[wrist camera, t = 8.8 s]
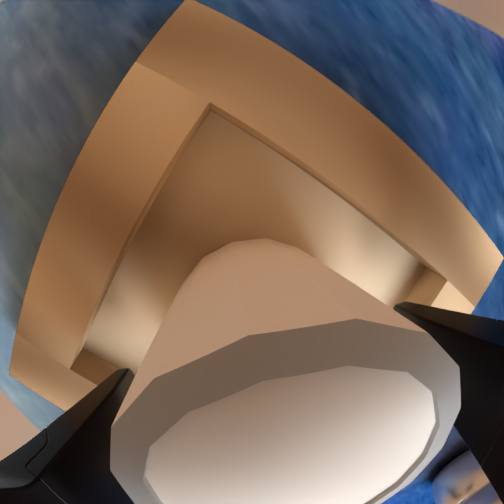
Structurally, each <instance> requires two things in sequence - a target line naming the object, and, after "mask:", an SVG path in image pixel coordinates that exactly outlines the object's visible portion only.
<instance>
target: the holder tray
mask: <svg viewBox="0 0 504 504" xmlns="http://www.w3.org/2000/svg"><path fill="white" fill-rule="evenodd" d="M261 238H268V239H271V240H275V241H278V242H281V243H285V244H288V245H292V246H295V247H298V248H299V249H301V250H302V251H304V252H305V253H307V254H309V255H310V256H312V257H313V258H315V259H316V260H318V261H320V262H321V263H323V264H324V265H326V266H327V267H329V268H331V269H332V270H334V271H335V272H337V273H338V274H340V275H341V276H343V277H345V278H346V279H348V280H349V281H351V282H352V283H354V284H355V285H357V286H358V287H360V288H361V289H363V290H365V291H366V292H368V293H369V294H371V295H372V296H374V297H375V298H377V299H378V300H380V301H381V302H383V303H384V304H386V305H387V306H389V307H390V308H392V309H393V307H394V306H395V305H396V304H398V303H401V302H404V301H407V302H412V303H417V304H422V305H427V306H432V307H437V308H441V309H446V310H451V311H456V312H461V313H466V314H471V313H472V311H473V310H474V308H475V306H476V305H477V303H478V302H479V300H480V299H481V297H482V295H483V294H484V292H485V290H486V289H487V287H488V285H489V284H490V282H491V280H492V278H493V277H494V275H495V273H496V271H497V270H498V268H499V266H500V264H501V262H502V260H503V259H504V257H503V256H502V255H501V253H500V252H499V250H498V249H497V247H496V246H495V245H494V243H493V242H492V241H491V239H490V238H489V237H488V235H487V234H486V233H485V231H484V230H483V229H482V227H481V226H480V225H479V224H478V222H477V221H476V220H475V219H474V217H473V216H472V215H471V214H470V212H469V211H468V210H467V209H466V208H465V206H464V205H463V204H462V203H461V202H460V200H459V199H458V198H457V197H456V196H455V195H454V194H453V192H452V191H451V190H450V189H449V188H448V187H447V186H446V185H445V183H444V182H443V181H442V180H441V179H440V178H439V177H438V176H437V175H436V174H435V173H434V172H433V171H432V170H431V168H430V167H429V166H428V165H427V164H426V163H425V162H424V161H423V160H422V159H421V158H420V157H419V156H418V155H417V154H416V153H415V152H414V151H413V150H412V149H411V148H410V147H409V146H407V145H406V144H405V143H404V142H403V141H402V140H401V139H400V138H399V137H398V136H397V135H396V134H395V133H394V132H392V131H391V130H390V129H389V128H388V127H387V126H386V125H385V124H384V123H382V122H381V121H380V120H379V119H378V118H377V117H376V116H374V115H373V114H372V113H371V112H370V111H368V110H367V109H366V108H365V107H364V106H362V105H361V104H360V103H359V102H358V101H356V100H355V99H354V98H353V97H351V96H350V95H349V94H347V93H346V92H345V91H344V90H342V89H341V88H340V87H338V86H337V85H336V84H334V83H333V82H332V81H330V80H329V79H328V78H326V77H325V76H323V75H322V74H321V73H319V72H318V71H316V70H315V69H314V68H312V67H311V66H309V65H308V64H306V63H305V62H303V61H302V60H300V59H299V58H297V57H296V56H294V55H293V54H291V53H290V52H288V51H287V50H285V49H284V48H282V47H280V46H279V45H277V44H275V43H274V42H272V41H271V40H269V39H267V38H266V37H264V36H262V35H260V34H259V33H257V32H255V31H253V30H252V29H250V28H248V27H246V26H244V25H243V24H241V23H239V22H237V21H235V20H233V19H231V18H229V17H228V16H226V15H224V14H222V13H220V12H218V11H216V10H213V9H211V8H209V7H207V6H205V5H203V4H201V3H199V2H196V1H194V0H185V1H184V2H183V3H182V4H181V5H180V6H179V8H178V9H177V10H176V11H175V12H174V13H173V14H172V16H171V17H170V18H169V19H168V20H167V21H166V23H165V24H164V25H163V26H162V28H161V29H160V30H159V31H158V33H157V34H156V35H155V36H154V38H153V39H152V40H151V41H150V43H149V44H148V45H147V47H146V48H145V49H144V51H143V52H142V53H141V55H140V56H139V57H138V59H137V60H136V62H135V63H134V64H133V66H132V67H131V69H130V70H129V72H128V73H127V74H126V76H125V77H124V79H123V80H122V82H121V83H120V85H119V86H118V88H117V90H116V91H115V93H114V94H113V96H112V97H111V99H110V101H109V102H108V104H107V106H106V107H105V109H104V110H103V112H102V114H101V116H100V117H99V119H98V121H97V122H96V124H95V126H94V128H93V129H92V131H91V133H90V135H89V137H88V139H87V140H86V142H85V144H84V146H83V148H82V150H81V152H80V154H79V156H78V158H77V160H76V162H75V164H74V166H73V168H72V170H71V172H70V174H69V176H68V178H67V181H66V183H65V185H64V187H63V189H62V192H61V194H60V196H59V199H58V201H57V203H56V206H55V208H54V211H53V213H52V216H51V218H50V221H49V223H48V226H47V228H46V231H45V234H44V236H43V239H42V242H41V245H40V248H39V251H38V254H37V257H36V260H35V263H34V266H33V269H32V272H31V276H30V279H29V282H28V286H27V289H26V293H25V297H24V301H23V305H22V309H21V313H20V317H19V321H18V326H17V330H16V335H15V340H14V345H13V351H12V357H11V363H10V369H9V374H10V375H11V376H12V377H14V378H15V379H17V380H18V381H19V382H21V383H22V384H24V385H25V386H27V387H28V388H30V389H31V390H33V391H34V392H36V393H37V394H39V395H40V396H42V397H43V398H45V399H47V400H48V401H50V402H51V403H53V404H55V405H56V406H58V407H60V408H61V409H63V410H65V411H67V410H68V409H70V408H71V407H72V406H73V405H75V404H76V403H77V402H78V401H79V400H81V399H82V398H83V397H84V396H86V395H87V394H88V393H89V392H90V391H92V390H93V389H94V388H95V387H97V386H98V385H99V384H100V383H101V382H103V381H104V380H105V379H106V378H108V377H109V376H110V375H111V374H112V373H114V372H115V371H116V370H118V369H123V368H130V369H131V370H132V371H133V373H134V375H136V373H137V371H138V369H139V367H140V365H141V363H142V361H143V359H144V357H145V355H146V353H147V351H148V349H149V347H150V345H151V343H152V341H153V339H154V337H155V335H156V333H157V331H158V329H159V327H160V325H161V323H162V322H163V320H164V318H165V316H166V314H167V312H168V310H169V308H170V306H171V304H172V302H173V300H174V298H175V297H176V295H177V293H178V291H179V289H180V287H181V285H182V283H183V282H184V280H185V279H186V278H187V277H188V275H189V274H190V273H191V272H192V270H193V269H194V268H195V267H196V265H197V264H198V263H199V262H200V261H201V259H202V258H203V257H205V256H207V255H208V254H210V253H212V252H214V251H216V250H218V249H220V248H221V247H223V246H225V245H227V244H229V243H231V242H233V241H243V240H252V239H261Z"/></svg>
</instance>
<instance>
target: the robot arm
mask: <svg viewBox="0 0 504 504" xmlns="http://www.w3.org/2000/svg"><path fill="white" fill-rule="evenodd" d="M393 310H395V311H396V312H398V313H399V314H401V315H402V316H404V317H405V318H407V319H408V320H410V321H411V322H413V323H414V324H416V325H417V326H419V327H420V328H422V329H423V330H425V331H426V332H428V333H429V334H430V335H431V336H432V337H433V338H434V340H435V341H436V342H437V343H438V344H439V345H440V346H441V347H442V348H443V349H444V350H445V351H446V353H447V354H448V355H449V356H450V357H451V358H452V359H453V360H454V361H455V363H456V364H457V365H458V366H459V369H460V389H461V408H460V411H459V413H458V415H457V418H456V420H455V422H454V424H453V425H454V426H455V428H456V429H457V431H458V432H459V434H460V435H461V437H462V438H463V440H464V442H465V443H466V445H467V446H468V448H469V449H470V451H471V452H472V454H473V455H474V457H475V459H476V460H477V462H478V463H479V465H480V466H481V468H482V470H483V472H484V473H485V475H486V477H487V478H488V480H489V481H490V483H491V485H492V486H493V488H494V490H495V491H496V493H497V495H498V497H499V498H500V500H501V502H502V503H503V504H504V321H502V320H497V321H496V319H492V318H487V317H482V316H476V315H471V314H466V313H461V312H456V311H451V310H446V309H441V308H437V307H432V306H427V305H422V304H417V303H412V302H407V301H404V302H401V303H398V304H396V305H395V306H394V307H393ZM134 377H135V375H134V373H133V371H132V370H131V369H130V368H123V369H118V370H116V371H115V372H114V373H112V374H111V375H110V376H109V377H108V378H106V379H105V380H104V381H103V382H101V383H100V384H99V385H98V386H97V387H95V388H94V389H93V390H92V391H90V392H89V393H88V394H87V395H86V396H84V397H83V398H82V399H81V400H79V401H78V402H77V403H76V404H75V405H73V406H72V407H71V408H70V409H68V410H67V411H66V412H65V413H64V414H62V415H61V416H60V417H59V418H57V419H56V420H55V421H54V422H52V423H51V424H50V425H49V426H48V427H47V428H45V429H44V430H43V431H41V432H40V433H39V434H38V435H36V436H35V437H34V438H32V440H30V441H29V442H27V443H26V444H25V445H23V446H22V447H20V448H19V449H17V450H16V451H15V452H13V453H12V454H10V455H9V456H7V457H6V458H4V459H3V460H1V461H0V504H134V502H133V501H132V500H131V498H130V497H129V496H128V494H127V493H126V492H125V490H124V489H123V488H122V486H121V485H120V483H119V482H118V481H117V479H116V478H115V476H114V475H113V473H112V472H111V470H110V446H111V426H112V424H113V422H114V420H115V418H116V415H117V413H118V411H119V409H120V407H121V405H122V403H123V400H124V398H125V396H126V394H127V392H128V390H129V388H130V386H131V384H132V382H133V380H134Z"/></svg>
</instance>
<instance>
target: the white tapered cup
mask: <svg viewBox="0 0 504 504" xmlns="http://www.w3.org/2000/svg"><path fill="white" fill-rule="evenodd" d="M460 408H461V389H460V369H459V366H458V365H457V364H456V363H455V361H454V360H453V359H452V358H451V357H450V356H449V355H448V354H447V353H446V351H445V350H444V349H443V348H442V347H441V346H440V345H439V344H438V343H437V342H436V341H435V340H434V338H433V337H432V336H431V335H430V334H429V333H428V332H426V331H425V330H423V329H422V328H420V327H419V326H417V325H416V324H414V323H413V322H411V321H410V320H408V319H407V318H405V317H404V316H402V315H401V314H399V313H398V312H396V311H395V310H393V309H392V308H390V307H389V306H387V305H386V304H384V303H383V302H381V301H380V300H378V299H377V298H375V297H374V296H372V295H371V294H369V293H368V292H366V291H365V290H363V289H361V288H360V287H358V286H357V285H355V284H354V283H352V282H351V281H349V280H348V279H346V278H345V277H343V276H341V275H340V274H338V273H337V272H335V271H334V270H332V269H331V268H329V267H327V266H326V265H324V264H323V263H321V262H320V261H318V260H316V259H315V258H313V257H312V256H310V255H309V254H307V253H305V252H304V251H302V250H301V249H299V248H298V247H295V246H292V245H288V244H285V243H281V242H278V241H275V240H271V239H268V238H261V239H252V240H243V241H233V242H231V243H229V244H227V245H225V246H223V247H221V248H220V249H218V250H216V251H214V252H212V253H210V254H208V255H207V256H205V257H203V258H202V259H201V261H200V262H199V263H198V264H197V265H196V267H195V268H194V269H193V270H192V272H191V273H190V274H189V275H188V277H187V278H186V279H185V280H184V282H183V283H182V285H181V287H180V289H179V291H178V293H177V295H176V297H175V298H174V300H173V302H172V304H171V306H170V308H169V310H168V312H167V314H166V316H165V318H164V320H163V322H162V323H161V325H160V327H159V329H158V331H157V333H156V335H155V337H154V339H153V341H152V343H151V345H150V347H149V349H148V351H147V353H146V355H145V357H144V359H143V361H142V363H141V365H140V367H139V369H138V371H137V373H136V375H135V377H134V380H133V382H132V384H131V386H130V388H129V390H128V392H127V394H126V396H125V398H124V400H123V403H122V405H121V407H120V409H119V411H118V413H117V415H116V418H115V420H114V422H113V424H112V426H111V446H110V470H111V472H112V473H113V475H114V476H115V478H116V479H117V481H118V482H119V483H120V485H121V486H122V488H123V489H124V490H125V492H126V493H127V494H128V496H129V497H130V498H131V500H132V501H133V502H134V504H381V503H382V502H384V501H385V500H387V499H388V498H390V497H391V496H393V495H394V494H396V493H397V492H398V491H400V490H401V489H403V488H404V487H405V486H407V485H408V484H409V483H411V482H412V481H413V480H414V479H415V478H416V477H417V476H418V475H419V473H420V472H421V471H422V470H423V469H424V468H425V467H426V466H427V465H428V464H429V463H430V461H431V460H432V459H433V458H434V457H435V456H436V454H437V453H438V452H439V451H440V450H441V449H442V447H443V446H444V444H445V441H446V439H447V437H448V435H449V433H450V431H451V429H452V427H453V424H454V422H455V420H456V418H457V415H458V413H459V411H460Z"/></svg>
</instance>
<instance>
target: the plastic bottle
mask: <svg viewBox="0 0 504 504" xmlns="http://www.w3.org/2000/svg"><path fill="white" fill-rule="evenodd" d="M432 494H433V497H434V500H435V503H436V504H503V503H502V502H501V500H500V498H499V497H498V495H497V493H496V491H495V490H494V488H493V486H492V485H491V483H490V481H489V480H488V478H487V477H486V475H485V473H484V472H483V470H482V468H481V466H480V465H479V463H478V462H477V460H476V459H475V457H474V455H473V454H472V452H471V451H470V450H468V451H466V452H464V453H463V454H461V455H460V456H458V457H457V458H455V459H454V460H453V461H451V462H450V463H449V464H448V465H447V466H445V467H444V468H443V469H442V470H441V471H440V472H439V473H438V474H437V476H436V477H435V478H434V480H433V483H432Z"/></svg>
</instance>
